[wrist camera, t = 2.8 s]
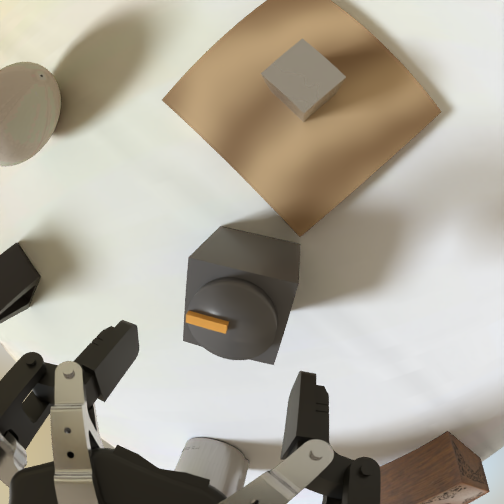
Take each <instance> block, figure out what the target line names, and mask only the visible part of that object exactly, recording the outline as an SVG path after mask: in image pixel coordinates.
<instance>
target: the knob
mask: <svg viewBox="0 0 504 504" xmlns="http://www.w3.org/2000/svg"><path fill="white" fill-rule="evenodd" d="M299 260H300V244H297V243H293V242H288V241H284V240H279V239H275V238H271V237H266V236H262V235H257V234H253V233H248V232H244V231H239V230H235V229H230V228H226V227H221V226H220V227H219V228H218V229H217V230H216V231H215V232H214V233H213V234H212V235H211V236H210V237H209V238H208V239H207V240H206V241H205V242H204V243H203V244H202V245H201V246H200V247H199V248H198V249H197V250H196V251H195V252H194V253H193V254H192V255H191V256H190V257H189V259H188V271H187V284H186V298H185V314H184V334H183V341H186V342H189V343H192V344H195V345H199V346H202V347H204V348H205V349H206V350H208V351H209V352H211V353H213V354H215V355H217V356H219V357H222V358H226V359H231V360H247V359H250V360H254V361H259V362H263V363H267V364H272V365H274V362H275V359H276V356H277V353H278V350H279V347H280V343H281V340H282V337H283V334H284V331H285V327H286V324H287V321H288V317H289V314H290V311H291V307H292V304H293V300H294V297H295V293H296V290H297V286H298V280H299Z"/></svg>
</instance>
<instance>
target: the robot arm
mask: <svg viewBox="0 0 504 504" xmlns="http://www.w3.org/2000/svg"><path fill="white" fill-rule="evenodd" d="M138 352H139V341H138V330H137V326H136V325H135V324H132V323H129V322H127V321H124V320H122V321H120V322H119V323H118V324H117V325H116V326H115V327H112V326H110V327H109V328H107V329H105V330H103V331H102V332H101V333H100V334H99V335H98V336H97V338H95V339H94V340H93V341H92V343H90V344H89V345H88V346H87V348H86V349H85V350H84V351H83V352H82V353H81V354H80V355H79V356H78V357H77V358H76V359H75V360H74V361H73V362H72V361H66V362H63V363H61V364H59V365H53V364H49V363H45V362H44V361H43V358H42V356H41V355H40V354H38V353H36V352H29V353H26V354H25V355H23V356H22V357H21V358H20V359H19V360H18V361H17V363H16V364H15V365H14V366H13V367H12V368H11V369H10V370H9V371H8V373H7V374H6V375H5V376H4V377H3V378H2V379H1V381H0V480H1V481H2V482H3V483H5V484H6V485H7V486H8V487H9V494H10V496H9V504H286V503H288V502H289V501H290V500H291V499H292V498H294V497H295V496H296V495H297V494H298V493H299V492H300V491H301V490H303V489H304V488H307V489H309V490H312V491H314V492H317V493H320V494H322V495H323V502H322V504H380V493H381V473H380V467H379V465H378V463H377V462H376V461H375V460H373V459H371V458H368V457H361V458H358V459H356V460H355V461H354V460H351V459H349V458H346V457H343V456H341V455H339V454H337V453H336V452H335V451H334V450H333V449H332V447H331V446H330V443H329V414H328V413H329V406H328V405H329V395H328V393H327V391H326V389H325V387H324V386H319V385H316V374H314V373H309V372H303V371H300V372H299V374H298V376H297V378H296V381H295V383H294V385H293V388H292V390H291V393H290V396H289V401H288V408H287V416H286V424H285V432H284V439H283V446H282V453H281V459H283V460H284V461H283V462H281V463H280V464H279V465H277V466H276V467H275V468H274V469H272V470H270V471H267V472H265V473H264V474H262V475H261V476H259V477H258V478H256V479H255V480H254V481H252V482H251V483H249V484H248V485H246V486H245V487H244V483H245V479H246V475H247V470H248V466H249V462H250V461H248V460H246V459H245V457H244V455H243V454H242V452H240V451H239V450H238V449H236V448H235V447H233V446H231V445H229V444H226V443H224V442H221V441H217V440H213V439H208V438H193V439H190V440H188V441H187V442H186V445H185V447H184V449H183V451H182V454H181V457H180V459H179V461H178V464H177V466H176V468H175V471H170V470H163V469H159V468H157V467H156V466H154V465H153V464H151V463H150V462H148V461H147V460H146V459H144V458H143V457H141V456H140V455H139V454H136V453H134V452H132V451H130V450H128V449H125V448H123V447H121V446H119V445H117V446H116V448H115V449H110V448H104V447H103V443H102V441H101V438H100V434H99V428H98V422H97V416H96V409H95V403H94V402H95V401H96V400H97V398H98V399H100V400H102V401H104V402H105V401H106V399H107V398H108V397H109V395H110V394H111V392H112V391H113V390H114V388H115V387H116V385H117V384H118V382H119V381H120V380H121V378H122V377H123V375H124V374H125V373H126V371H127V370H128V369H129V367H130V366H131V364H132V363H133V362H134V360H135V359H136V357H137V355H138ZM31 390H32V392H31ZM30 392H31V393H30ZM29 393H30V394H29ZM28 394H29V396H28V397H27V395H28ZM26 397H27V398H26ZM25 398H26V399H25ZM24 399H25V401H24ZM23 401H24V402H23ZM49 414H50V415H51V436H52V448H53V457H54V461H53V462H49V463H45V464H41V465H37V466H33V467H28V468H24V467H25V466H26V465H27V461H26V458H27V455H26V451H25V450H26V448H27V447H28V445H29V444H30V442H31V441H32V439H33V437H34V436H35V434H36V433H37V431H38V430H39V428H40V427H41V425H42V424H43V422H44V421H45V419H46V418H47V416H48V415H49Z"/></svg>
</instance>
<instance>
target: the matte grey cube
mask: <svg viewBox="0 0 504 504" xmlns="http://www.w3.org/2000/svg"><path fill="white" fill-rule="evenodd" d="M261 75H262V77H263V79H264V80H265V82H266V84H267V85H268V87H269V89H270V91H271V92H272V93H273V94H274V95H276V96H277V97H278V98H279V99H280V100H281V101H282V102H283V103H284V104H285V105H286V106H287V107H288V108H289V109H291V110H292V111H293V112H294V113H295V114H296V115H297V116H298V117H299V118H300V119H301V120H302V121H303V122H304V121H306V120H307V119H308V118H309V117H310V116H311V115H312V114H313V113H315V112H316V111H317V110H318V109H319V108H320V107H321V106H323V105H324V104H325V103H326V102H327V101H328V100H329V99H331V98H332V97H333V96H334V95H335V94H336V93H337V91H338V90H339V88H340V86H341V85H342V83H343V82H344V80H345V78H346V76H344V75H343V74H342V73H341V72H340V71H339V70H338V69H337V68H336V67H335V66H334V65H333V64H332V63H331V62H330V61H328V60H327V59H326V58H325V57H324V56H323V55H322V54H321V53H319V52H318V51H317V50H316V49H315V48H314V47H312V46H311V45H310V44H309V43H308V42H306V41H305V40H304V39H303V38H302V39H301V40H300V41H299V42H297V43H296V44H295V45H294V46H292V47H291V48H290V49H289V50H288V51H286V52H285V53H284V54H283V55H282V56H280V57H279V58H278V59H277V60H276V61H275V62H273V63H272V64H271V65H270V66H269V67H268V68H267V69H266V70H264V71H263V72H262V73H261Z"/></svg>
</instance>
